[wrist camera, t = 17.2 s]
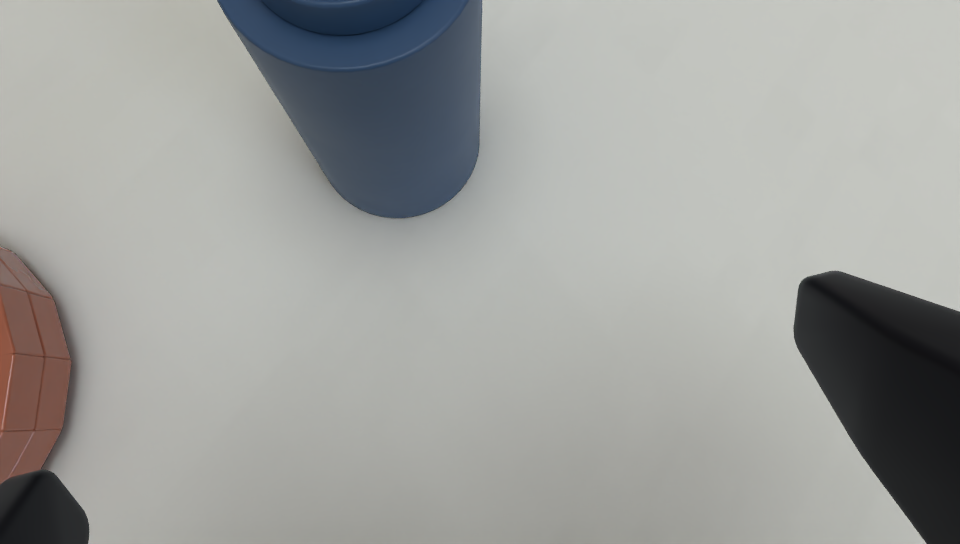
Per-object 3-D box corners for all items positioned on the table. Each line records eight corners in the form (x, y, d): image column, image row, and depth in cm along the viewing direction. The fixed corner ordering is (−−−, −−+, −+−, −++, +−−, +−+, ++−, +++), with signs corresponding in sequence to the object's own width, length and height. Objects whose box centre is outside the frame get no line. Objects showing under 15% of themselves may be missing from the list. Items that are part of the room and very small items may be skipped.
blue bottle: (462, 232, 23) (447, 0, 10) (301, 201, 23) (83, -67, 10) (492, 83, 24) (515, -300, 11) (339, 55, 24) (185, -357, 11)
